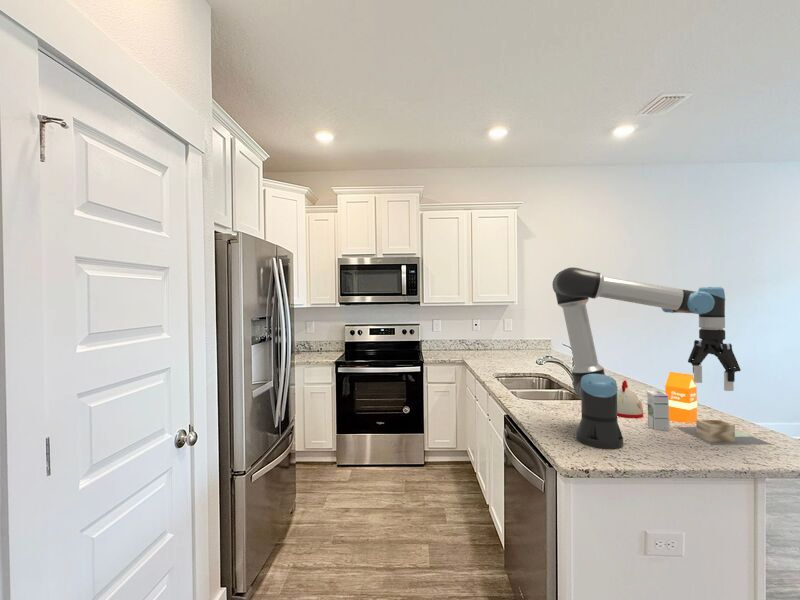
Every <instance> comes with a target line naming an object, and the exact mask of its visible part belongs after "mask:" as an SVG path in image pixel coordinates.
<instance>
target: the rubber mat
mask: <svg viewBox="0 0 800 600" xmlns="http://www.w3.org/2000/svg"><path fill="white" fill-rule="evenodd" d="M673 428H675V429H677V430H679V431H681V432H683V433H685V434H688V435H690V436H692V437H694V438H697V439H698V440H701V441H703V442H706V443H707V444H710V445H713V446H731V445H733V446H734V445H736V446H737V445H738V446H739V445H740V446H742V445H744V446H745V445H748V446H749V445H754V446H755V445H772V443H771V442H767V441H765V440H763V439H760V438H757V437H755V436H752V435H750V434H748V433H744V432H742V431H739V430H736V429H735V442H708V441H706V440H704V439H702V438H699V437H697V427H696V426H674V427H673Z"/></svg>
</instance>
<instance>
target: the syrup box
mask: <svg viewBox="0 0 800 600" xmlns="http://www.w3.org/2000/svg"><path fill="white" fill-rule="evenodd" d="M646 393H647V394H646V398H647V399H646V401H647V403H646V404H647V425H648V427H649V428H651V429H652V430H655V431H671V430H670V420H669V398H668V394H666V393H665V392H664V391H661V390H659V391H658V390H648V391H647V392H646Z"/></svg>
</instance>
